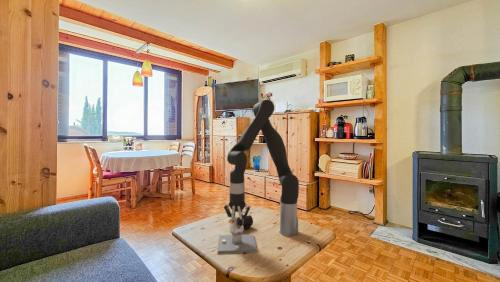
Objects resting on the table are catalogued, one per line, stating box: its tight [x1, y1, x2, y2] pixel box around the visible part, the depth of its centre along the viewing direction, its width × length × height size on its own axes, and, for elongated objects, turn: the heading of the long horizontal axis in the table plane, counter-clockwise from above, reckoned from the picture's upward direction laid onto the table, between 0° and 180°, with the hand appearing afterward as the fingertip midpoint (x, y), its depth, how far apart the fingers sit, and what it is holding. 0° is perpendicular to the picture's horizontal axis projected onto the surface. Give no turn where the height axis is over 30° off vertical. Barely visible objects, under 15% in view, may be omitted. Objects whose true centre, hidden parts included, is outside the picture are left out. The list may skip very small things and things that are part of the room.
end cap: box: [243, 214, 254, 229], centre depth 131 cm, size 10×7×7 cm
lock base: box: [217, 233, 258, 255], centre depth 111 cm, size 18×16×6 cm
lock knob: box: [228, 214, 245, 235], centre depth 111 cm, size 10×7×7 cm
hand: (237, 225), depth 112 cm, fingers closed on lock knob, 2 cm apart
